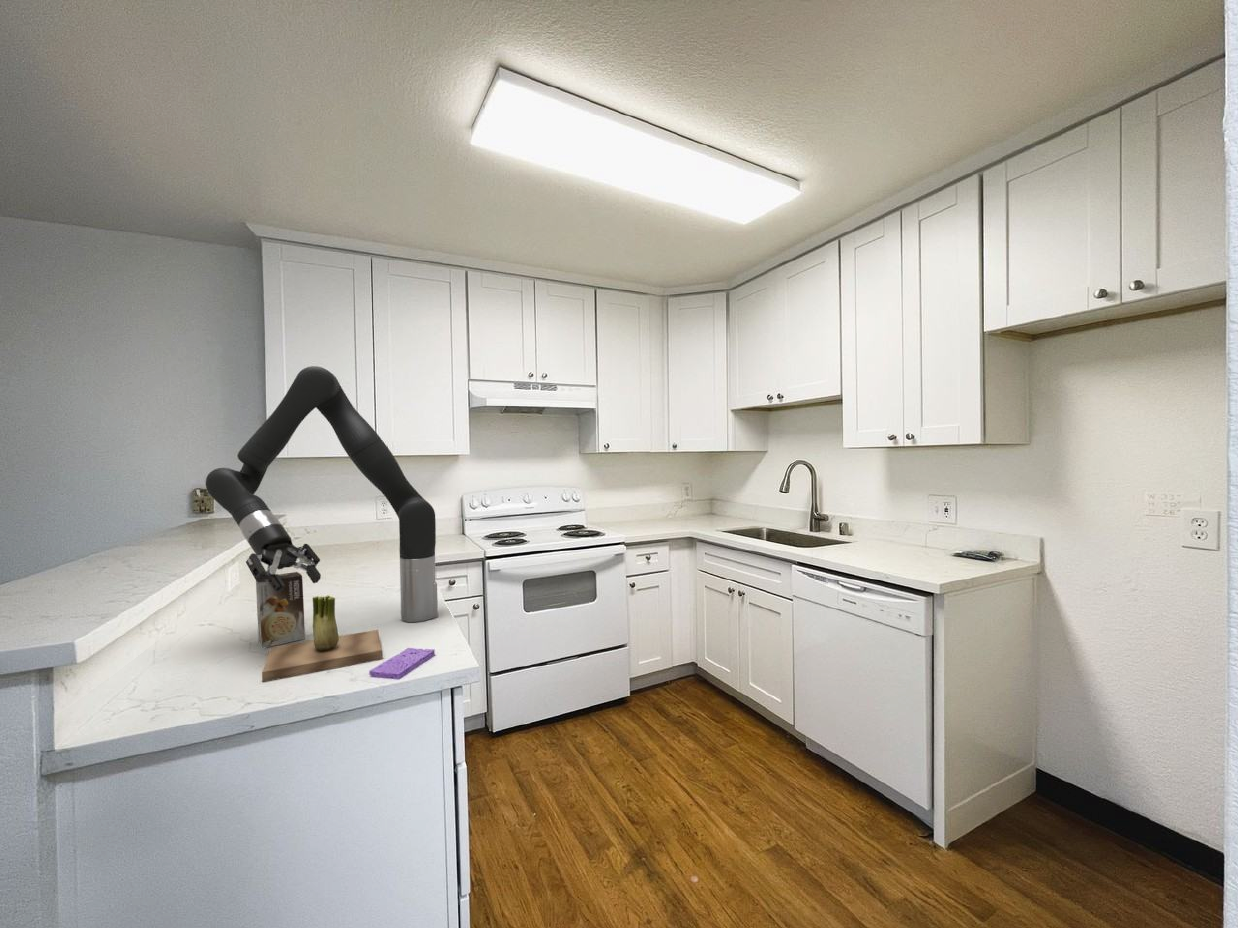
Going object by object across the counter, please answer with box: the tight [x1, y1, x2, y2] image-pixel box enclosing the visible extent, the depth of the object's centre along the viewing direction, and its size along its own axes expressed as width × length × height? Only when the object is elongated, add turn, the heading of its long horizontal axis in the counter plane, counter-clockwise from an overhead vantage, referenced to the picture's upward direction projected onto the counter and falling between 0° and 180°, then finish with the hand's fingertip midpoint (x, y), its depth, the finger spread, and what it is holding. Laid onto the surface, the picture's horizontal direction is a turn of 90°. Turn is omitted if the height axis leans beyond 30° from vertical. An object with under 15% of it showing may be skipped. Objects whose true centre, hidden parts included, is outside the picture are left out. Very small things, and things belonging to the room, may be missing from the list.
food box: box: [255, 571, 306, 649], centre depth 123 cm, size 9×6×16 cm
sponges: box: [368, 647, 436, 680], centre depth 108 cm, size 7×13×2 cm, turn 166°
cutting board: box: [261, 629, 383, 683], centre depth 113 cm, size 22×15×2 cm
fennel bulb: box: [312, 594, 340, 651], centre depth 113 cm, size 6×5×12 cm
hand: (300, 585), depth 115 cm, fingers open, 8 cm apart
